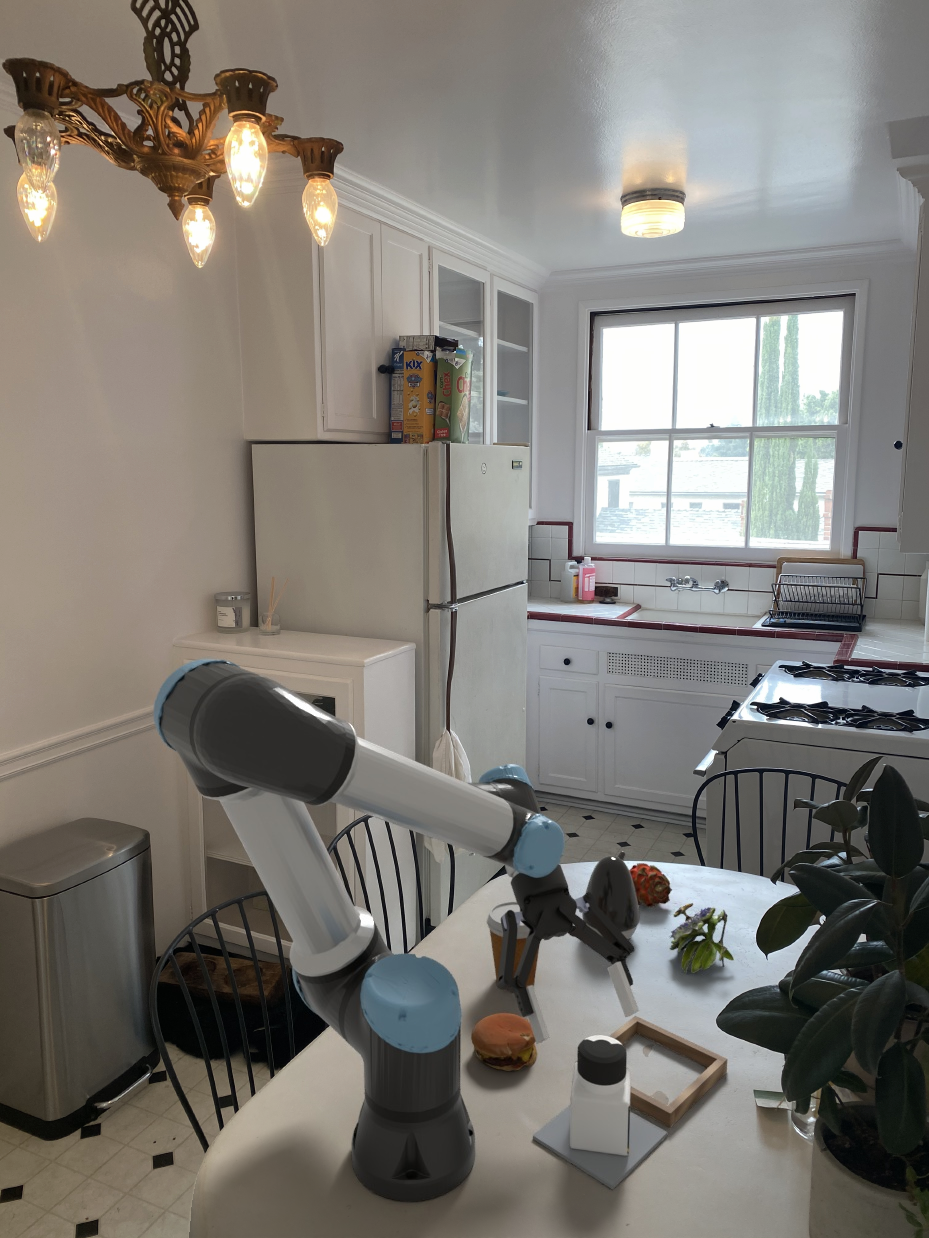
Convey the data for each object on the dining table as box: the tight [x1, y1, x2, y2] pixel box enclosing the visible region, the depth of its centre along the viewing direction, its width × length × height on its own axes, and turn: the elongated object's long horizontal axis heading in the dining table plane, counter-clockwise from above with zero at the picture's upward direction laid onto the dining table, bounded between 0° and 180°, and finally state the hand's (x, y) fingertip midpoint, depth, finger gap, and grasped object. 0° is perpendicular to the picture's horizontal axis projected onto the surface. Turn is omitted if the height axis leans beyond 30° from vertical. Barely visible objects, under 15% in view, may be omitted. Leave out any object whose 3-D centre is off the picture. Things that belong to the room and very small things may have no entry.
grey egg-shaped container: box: [581, 851, 641, 940], centre depth 162 cm, size 10×10×15 cm
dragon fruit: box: [629, 862, 673, 908], centre depth 176 cm, size 8×8×12 cm
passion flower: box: [668, 902, 734, 974], centre depth 155 cm, size 11×11×12 cm
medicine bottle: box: [569, 1034, 632, 1156], centre depth 113 cm, size 7×7×12 cm
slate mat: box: [532, 1104, 668, 1190], centre depth 114 cm, size 12×12×1 cm
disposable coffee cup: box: [485, 900, 541, 992], centre depth 148 cm, size 10×10×12 cm
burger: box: [470, 1012, 538, 1072], centre depth 130 cm, size 10×9×5 cm
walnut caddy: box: [574, 1015, 728, 1128], centre depth 126 cm, size 15×15×2 cm
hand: (589, 1027), depth 117 cm, fingers open, 13 cm apart
